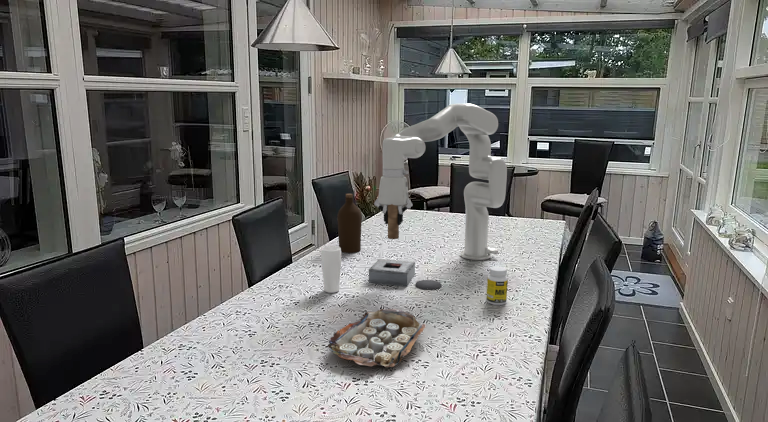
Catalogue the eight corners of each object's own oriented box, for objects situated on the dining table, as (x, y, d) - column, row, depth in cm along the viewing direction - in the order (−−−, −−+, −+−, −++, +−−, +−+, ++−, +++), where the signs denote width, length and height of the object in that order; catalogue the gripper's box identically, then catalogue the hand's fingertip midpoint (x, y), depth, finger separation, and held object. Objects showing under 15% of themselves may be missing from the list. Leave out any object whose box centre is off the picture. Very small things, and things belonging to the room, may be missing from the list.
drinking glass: (345, 289, 182) (344, 247, 179) (335, 295, 176) (334, 252, 173) (328, 286, 185) (327, 244, 182) (317, 292, 179) (317, 249, 176)
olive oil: (346, 255, 224) (346, 196, 219) (332, 249, 232) (332, 193, 227) (366, 250, 231) (366, 194, 226) (352, 245, 239) (352, 191, 234)
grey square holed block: (414, 274, 198) (415, 261, 197) (407, 286, 185) (407, 272, 184) (378, 271, 202) (378, 258, 201) (368, 283, 189) (368, 269, 188)
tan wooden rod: (399, 236, 192) (400, 193, 189) (397, 239, 188) (397, 195, 185) (389, 236, 193) (389, 193, 190) (386, 238, 189) (386, 194, 186)
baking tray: (398, 384, 121) (398, 363, 120) (314, 366, 129) (313, 346, 128) (433, 332, 148) (434, 314, 147) (362, 320, 156) (363, 303, 155)
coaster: (442, 282, 189) (442, 280, 189) (439, 290, 181) (439, 289, 181) (418, 280, 192) (418, 278, 192) (413, 288, 183) (413, 286, 183)
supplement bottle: (494, 306, 167) (496, 272, 165) (482, 300, 172) (483, 267, 170) (510, 303, 170) (512, 269, 167) (497, 297, 175) (499, 264, 173)
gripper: (418, 172, 188) (418, 223, 191) (373, 171, 192) (373, 220, 195) (414, 175, 180) (414, 227, 184) (367, 174, 184) (368, 225, 188)
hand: (393, 223), depth 190 cm, fingers closed on tan wooden rod, 4 cm apart
